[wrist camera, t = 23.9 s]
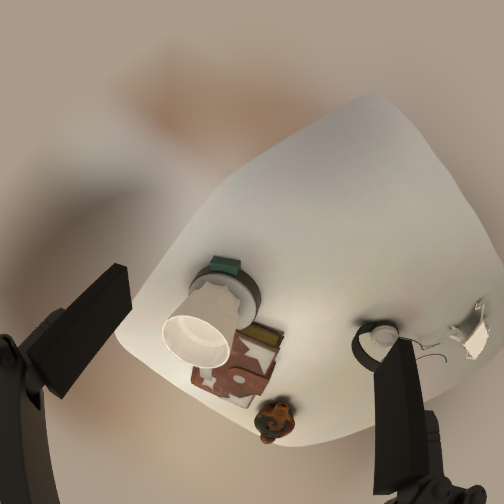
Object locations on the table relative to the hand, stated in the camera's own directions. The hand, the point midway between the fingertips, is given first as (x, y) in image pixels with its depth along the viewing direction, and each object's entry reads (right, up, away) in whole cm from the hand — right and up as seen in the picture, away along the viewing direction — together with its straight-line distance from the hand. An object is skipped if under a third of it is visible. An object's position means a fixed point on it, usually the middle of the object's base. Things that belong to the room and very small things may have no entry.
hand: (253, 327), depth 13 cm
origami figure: (+40, -11, +29) cm, 51 cm away
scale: (-4, -4, +37) cm, 38 cm away
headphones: (+27, -11, +33) cm, 44 cm away
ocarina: (+6, -35, +52) cm, 63 cm away
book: (-3, -18, +45) cm, 48 cm away
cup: (-6, -5, +34) cm, 35 cm away
